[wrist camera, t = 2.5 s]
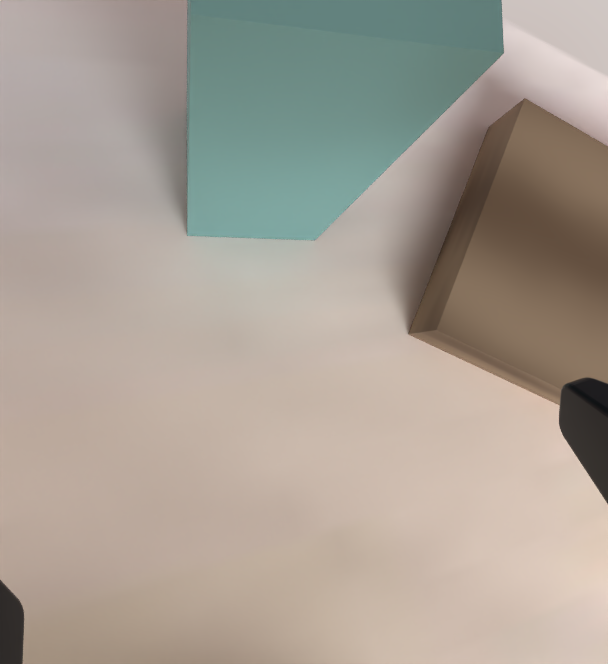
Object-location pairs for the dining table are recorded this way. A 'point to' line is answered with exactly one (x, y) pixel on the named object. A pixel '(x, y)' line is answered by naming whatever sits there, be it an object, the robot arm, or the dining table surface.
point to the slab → (526, 258)
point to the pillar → (316, 102)
